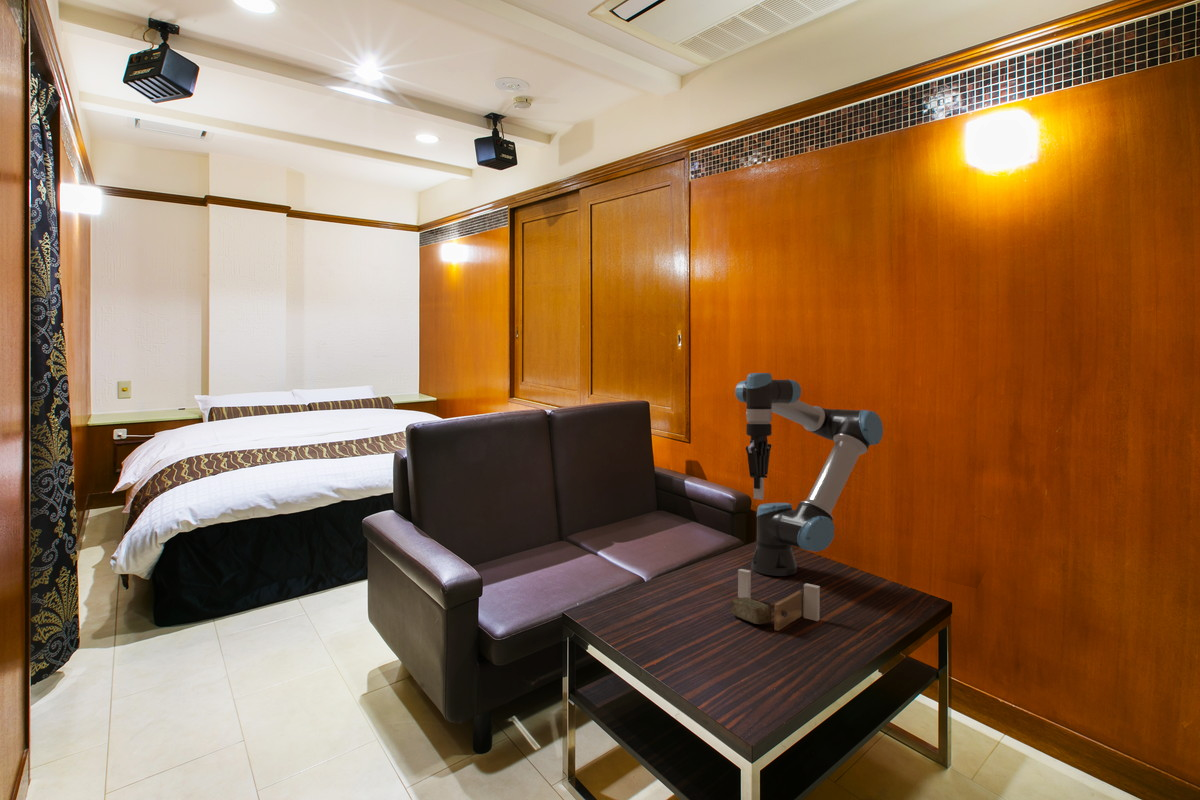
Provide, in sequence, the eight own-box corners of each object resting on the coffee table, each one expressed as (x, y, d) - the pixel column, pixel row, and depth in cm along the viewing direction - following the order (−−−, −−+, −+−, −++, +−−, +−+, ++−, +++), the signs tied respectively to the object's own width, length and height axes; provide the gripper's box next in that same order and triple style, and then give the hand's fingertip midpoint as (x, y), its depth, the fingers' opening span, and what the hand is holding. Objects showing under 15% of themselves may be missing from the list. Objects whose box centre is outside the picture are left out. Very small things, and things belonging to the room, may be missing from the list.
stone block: (758, 626, 160) (757, 608, 160) (730, 615, 170) (729, 598, 171) (773, 622, 163) (772, 604, 163) (745, 612, 173) (744, 595, 173)
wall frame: (740, 598, 185) (740, 568, 184) (819, 619, 168) (820, 586, 168) (737, 600, 183) (737, 570, 183) (817, 621, 167) (817, 588, 166)
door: (774, 630, 160) (774, 603, 160) (799, 614, 172) (799, 589, 171) (783, 633, 158) (783, 605, 158) (808, 616, 170) (808, 591, 170)
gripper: (757, 421, 188) (757, 494, 189) (737, 423, 178) (737, 500, 179) (779, 422, 183) (779, 497, 184) (760, 424, 173) (760, 503, 174)
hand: (758, 498), depth 181 cm, fingers closed
